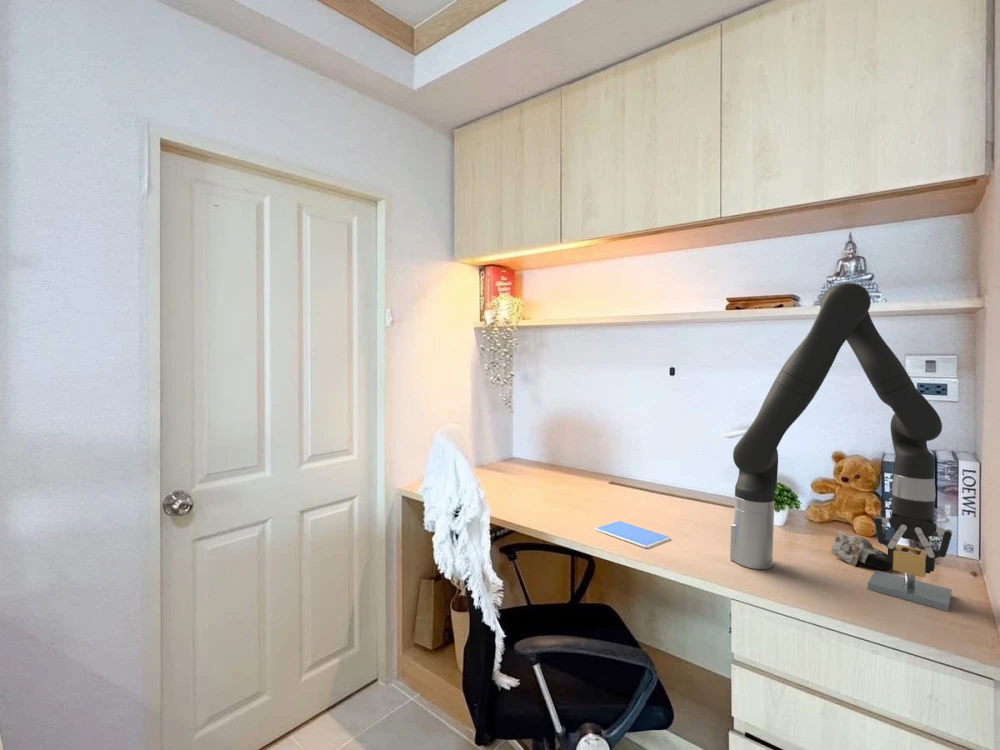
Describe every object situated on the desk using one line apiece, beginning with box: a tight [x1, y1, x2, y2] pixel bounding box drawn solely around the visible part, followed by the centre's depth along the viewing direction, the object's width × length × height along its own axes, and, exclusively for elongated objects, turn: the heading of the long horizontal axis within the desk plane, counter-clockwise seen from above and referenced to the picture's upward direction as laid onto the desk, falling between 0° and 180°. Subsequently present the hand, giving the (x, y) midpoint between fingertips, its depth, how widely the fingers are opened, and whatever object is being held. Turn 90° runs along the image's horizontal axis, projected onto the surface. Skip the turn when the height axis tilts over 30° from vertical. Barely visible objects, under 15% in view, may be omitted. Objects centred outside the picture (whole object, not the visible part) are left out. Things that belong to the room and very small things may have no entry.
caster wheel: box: [830, 530, 893, 571], centre depth 131 cm, size 7×11×10 cm
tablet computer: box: [594, 520, 672, 549], centre depth 150 cm, size 19×13×1 cm, turn 38°
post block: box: [867, 552, 953, 612], centre depth 114 cm, size 14×10×10 cm
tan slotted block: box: [892, 544, 928, 579], centre depth 114 cm, size 6×6×4 cm
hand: (910, 567), depth 114 cm, fingers closed on tan slotted block, 5 cm apart
